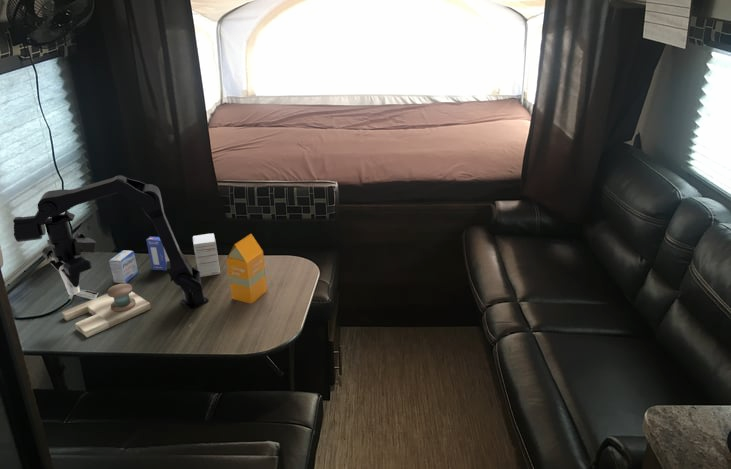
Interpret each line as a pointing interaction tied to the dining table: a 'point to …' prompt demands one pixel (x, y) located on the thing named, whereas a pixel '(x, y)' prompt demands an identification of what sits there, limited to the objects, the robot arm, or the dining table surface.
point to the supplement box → (206, 254)
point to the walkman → (157, 253)
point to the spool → (121, 297)
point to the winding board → (103, 313)
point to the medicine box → (123, 266)
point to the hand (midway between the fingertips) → (73, 284)
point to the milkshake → (69, 284)
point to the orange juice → (247, 270)
